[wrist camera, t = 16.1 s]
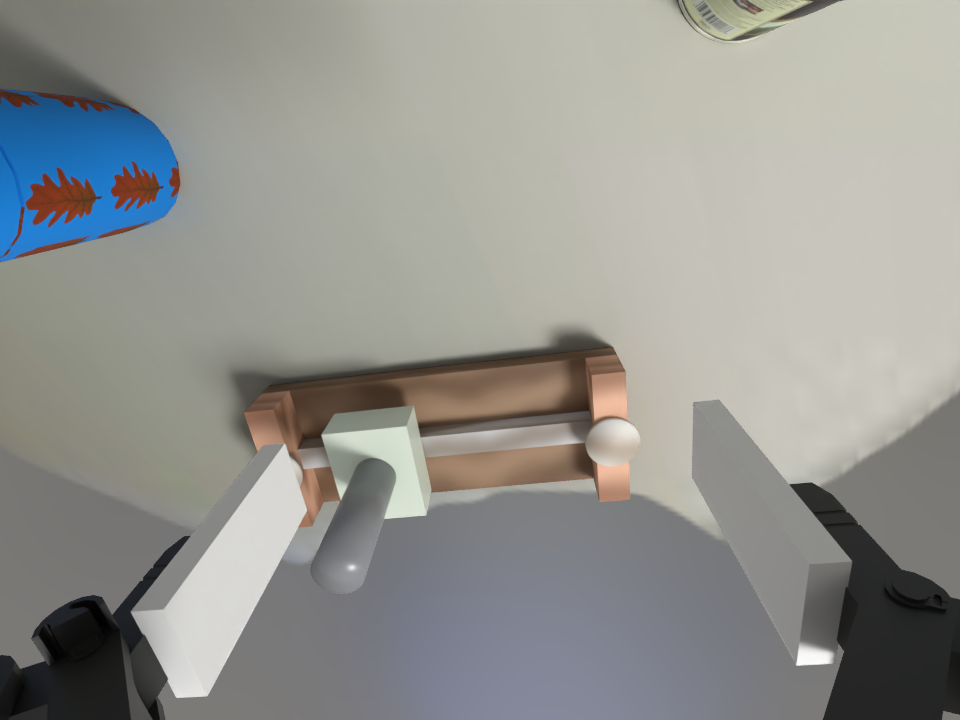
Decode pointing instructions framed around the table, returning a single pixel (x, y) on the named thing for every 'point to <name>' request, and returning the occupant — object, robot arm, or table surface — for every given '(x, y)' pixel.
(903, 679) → the robot arm
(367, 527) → the carriage
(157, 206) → the thermos
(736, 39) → the coffee can
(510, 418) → the rail board
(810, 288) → the table surface
